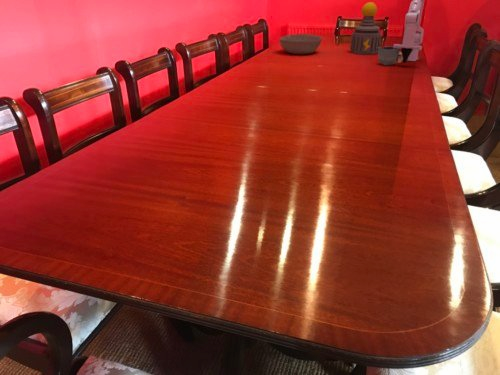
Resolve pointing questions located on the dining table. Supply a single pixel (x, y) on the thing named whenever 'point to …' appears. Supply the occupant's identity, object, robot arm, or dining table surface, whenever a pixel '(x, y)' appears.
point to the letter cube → (399, 58)
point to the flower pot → (388, 55)
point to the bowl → (300, 43)
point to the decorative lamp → (366, 33)
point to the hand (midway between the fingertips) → (404, 62)
